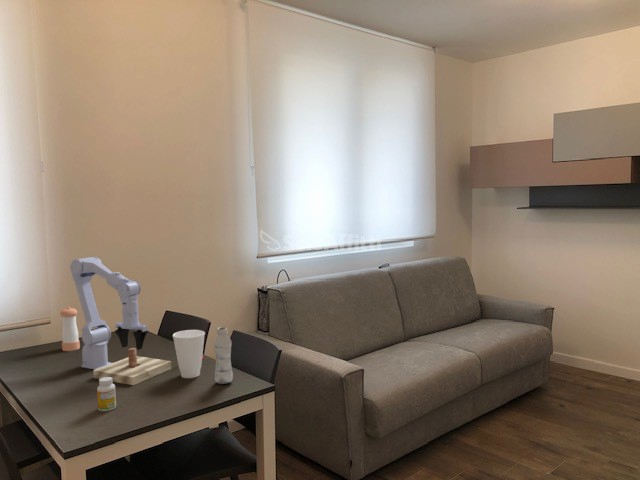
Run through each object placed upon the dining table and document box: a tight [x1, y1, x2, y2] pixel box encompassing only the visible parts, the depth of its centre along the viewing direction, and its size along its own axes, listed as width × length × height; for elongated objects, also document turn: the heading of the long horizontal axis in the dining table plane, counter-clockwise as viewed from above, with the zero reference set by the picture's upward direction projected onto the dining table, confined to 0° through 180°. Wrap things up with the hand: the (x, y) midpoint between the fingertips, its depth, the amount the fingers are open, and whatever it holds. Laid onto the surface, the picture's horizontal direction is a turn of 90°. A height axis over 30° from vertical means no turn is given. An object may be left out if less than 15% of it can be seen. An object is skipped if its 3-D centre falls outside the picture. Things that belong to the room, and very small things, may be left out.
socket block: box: [92, 355, 172, 386], centre depth 207 cm, size 20×20×3 cm
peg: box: [127, 347, 138, 368], centre depth 206 cm, size 3×3×10 cm
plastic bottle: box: [213, 326, 234, 385], centre depth 193 cm, size 6×7×20 cm
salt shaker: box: [59, 306, 81, 352], centre depth 241 cm, size 7×7×19 cm
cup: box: [172, 329, 206, 379], centre depth 203 cm, size 12×12×16 cm
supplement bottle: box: [96, 377, 117, 412], centre depth 172 cm, size 5×5×10 cm
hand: (132, 347), depth 206 cm, fingers open, 7 cm apart
